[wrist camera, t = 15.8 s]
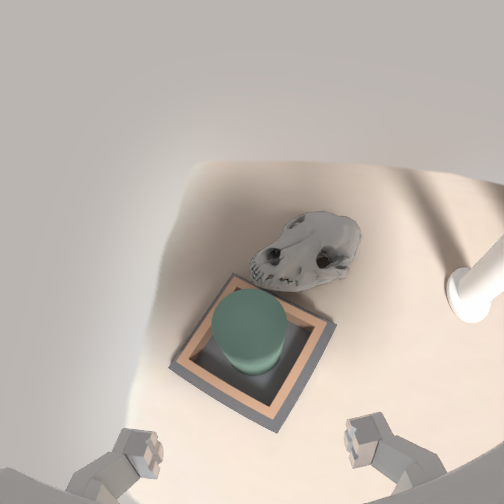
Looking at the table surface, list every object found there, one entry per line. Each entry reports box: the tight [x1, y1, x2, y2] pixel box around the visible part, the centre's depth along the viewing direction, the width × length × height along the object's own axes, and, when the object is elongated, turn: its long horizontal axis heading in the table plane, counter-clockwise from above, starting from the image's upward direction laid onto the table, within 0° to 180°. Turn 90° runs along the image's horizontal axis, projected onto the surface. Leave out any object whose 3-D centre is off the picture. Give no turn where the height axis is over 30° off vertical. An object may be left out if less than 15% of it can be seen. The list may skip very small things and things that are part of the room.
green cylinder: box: [211, 288, 287, 376], centre depth 22 cm, size 5×5×8 cm
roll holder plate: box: [168, 273, 337, 433], centre depth 25 cm, size 12×12×3 cm
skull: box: [250, 211, 361, 292], centre depth 28 cm, size 8×9×12 cm
